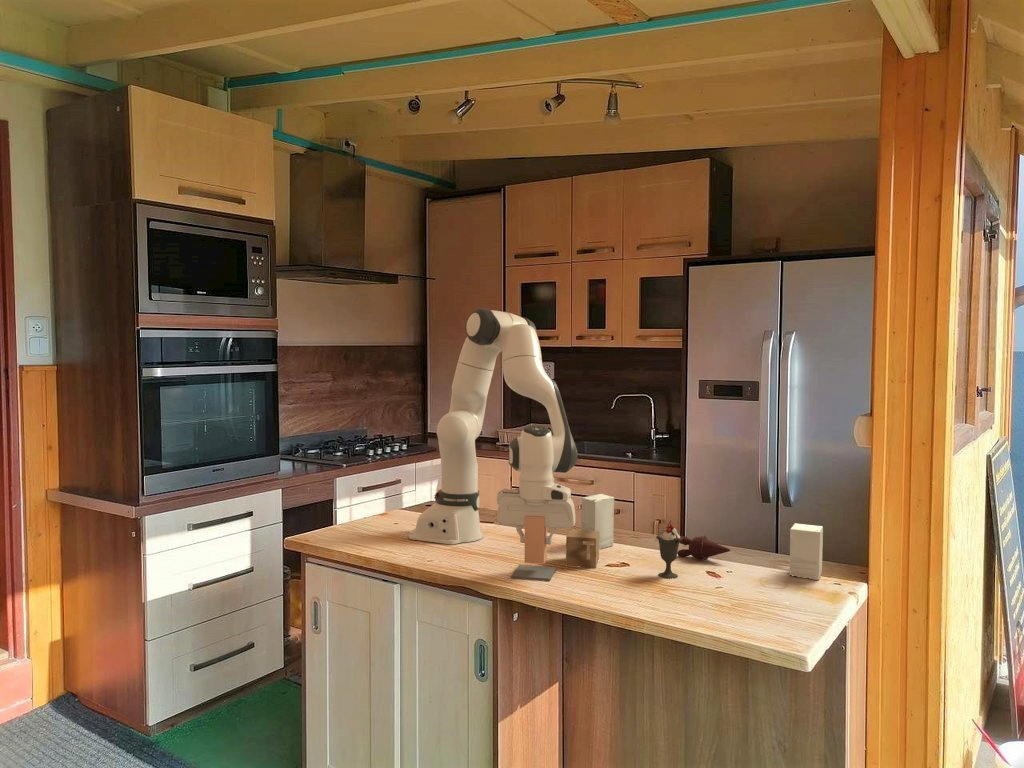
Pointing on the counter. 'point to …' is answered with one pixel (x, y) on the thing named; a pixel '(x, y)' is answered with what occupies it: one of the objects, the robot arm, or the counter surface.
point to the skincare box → (599, 517)
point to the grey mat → (533, 572)
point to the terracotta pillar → (535, 540)
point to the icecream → (701, 548)
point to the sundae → (669, 549)
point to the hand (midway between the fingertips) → (535, 543)
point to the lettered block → (582, 548)
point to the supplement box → (806, 551)
